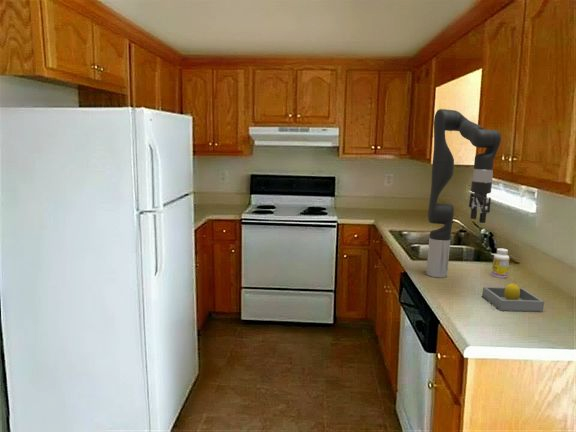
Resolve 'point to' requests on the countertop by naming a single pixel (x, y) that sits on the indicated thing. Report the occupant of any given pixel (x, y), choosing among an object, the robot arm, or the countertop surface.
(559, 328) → the countertop surface
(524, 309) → the box
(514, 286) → the lemon
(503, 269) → the supplement bottle
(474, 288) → the countertop surface
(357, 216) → the countertop surface
